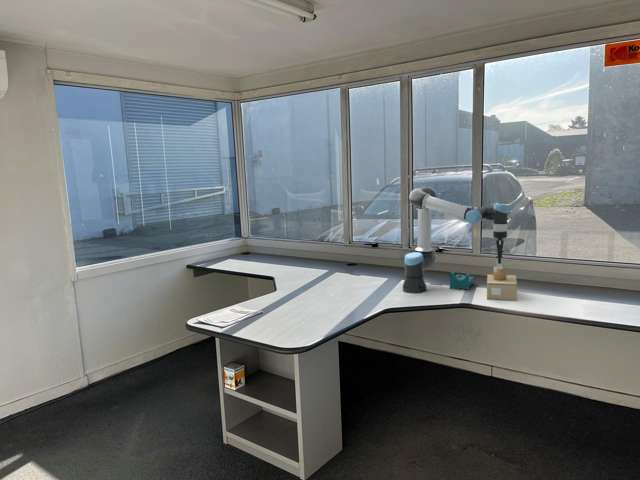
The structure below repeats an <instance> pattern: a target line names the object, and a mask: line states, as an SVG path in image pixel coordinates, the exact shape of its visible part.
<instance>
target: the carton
mask: <svg viewBox="0 0 640 480" xmlns="http://www.w3.org/2000/svg"><path fill="white" fill-rule="evenodd" d="M517 294H518V284H517V285H501V284H487V283H486V300H494V301H495V300H496V301H510V302H515V301H516V302H517V300H518V295H517Z"/></svg>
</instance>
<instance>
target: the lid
mask: <svg viewBox="0 0 640 480" xmlns="http://www.w3.org/2000/svg"><path fill="white" fill-rule="evenodd" d="M487 284H501V285H517V286H518V281H517V276H516V275H515V274H514V275H511V274H508V275H507V274H506V280H503V281H499V280H494V274H487V278H486V285H487Z"/></svg>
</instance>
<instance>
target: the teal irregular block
mask: <svg viewBox="0 0 640 480" xmlns="http://www.w3.org/2000/svg"><path fill="white" fill-rule="evenodd" d="M473 283H474V276H471V274H470V273H467V274H465V275H463V274H458V273H457V274H455V271H451V272H450V281H449V289H451V290H457V291H458V290H460V289H465V290H468V289H469V287H470V286H471V285H473Z"/></svg>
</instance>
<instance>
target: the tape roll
mask: <svg viewBox="0 0 640 480" xmlns="http://www.w3.org/2000/svg"><path fill="white" fill-rule="evenodd" d="M493 275H494V280H499V281H503V280H506V275H507V267H506V266H503V265H502V269H497V265H496V266H493Z"/></svg>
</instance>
